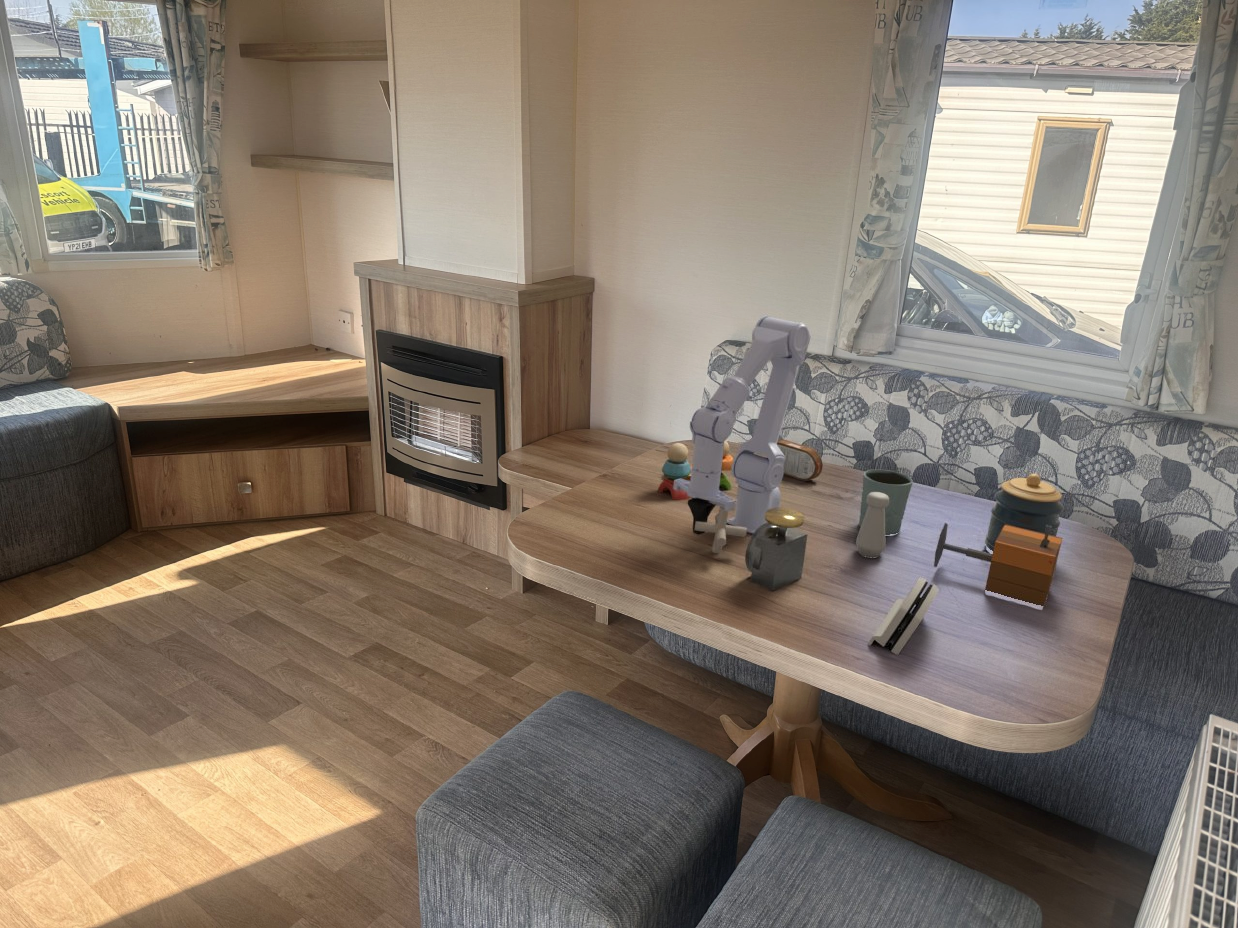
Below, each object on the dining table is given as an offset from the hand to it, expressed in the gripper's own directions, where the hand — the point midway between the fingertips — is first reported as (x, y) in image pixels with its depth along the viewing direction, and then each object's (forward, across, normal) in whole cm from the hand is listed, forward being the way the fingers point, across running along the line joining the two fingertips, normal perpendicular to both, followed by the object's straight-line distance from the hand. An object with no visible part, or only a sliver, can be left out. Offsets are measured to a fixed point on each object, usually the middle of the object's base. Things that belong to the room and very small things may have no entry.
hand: (699, 532), depth 176 cm
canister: (+2, +42, +52) cm, 67 cm away
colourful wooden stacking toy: (+3, -25, +23) cm, 34 cm away
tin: (+2, -15, +51) cm, 54 cm away
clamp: (+2, +45, +33) cm, 56 cm away
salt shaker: (+2, +23, +26) cm, 35 cm away
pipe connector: (+3, +4, +1) cm, 5 cm away
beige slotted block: (+3, +44, +3) cm, 45 cm away
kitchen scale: (+3, +19, +1) cm, 19 cm away
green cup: (+2, +17, +40) cm, 43 cm away
